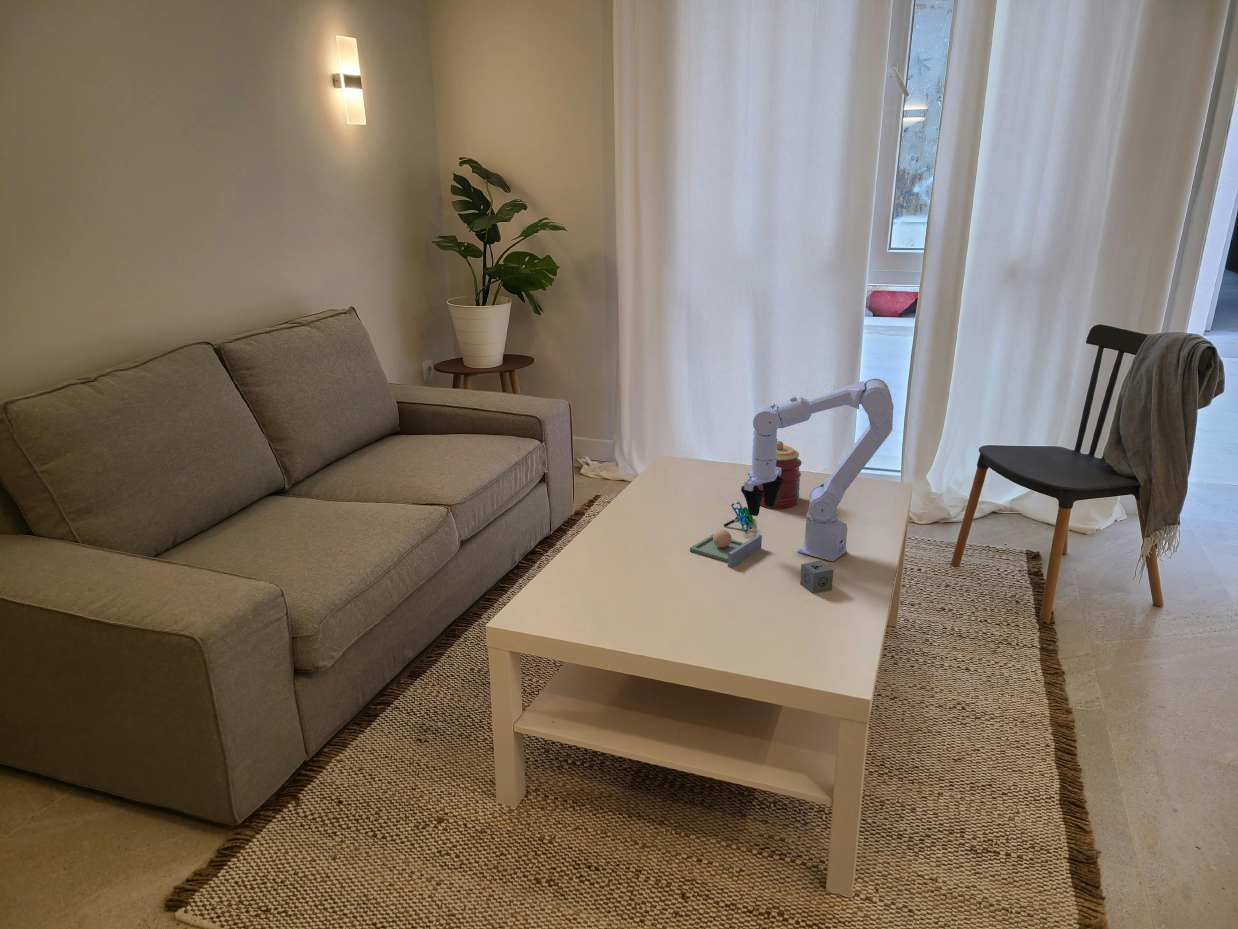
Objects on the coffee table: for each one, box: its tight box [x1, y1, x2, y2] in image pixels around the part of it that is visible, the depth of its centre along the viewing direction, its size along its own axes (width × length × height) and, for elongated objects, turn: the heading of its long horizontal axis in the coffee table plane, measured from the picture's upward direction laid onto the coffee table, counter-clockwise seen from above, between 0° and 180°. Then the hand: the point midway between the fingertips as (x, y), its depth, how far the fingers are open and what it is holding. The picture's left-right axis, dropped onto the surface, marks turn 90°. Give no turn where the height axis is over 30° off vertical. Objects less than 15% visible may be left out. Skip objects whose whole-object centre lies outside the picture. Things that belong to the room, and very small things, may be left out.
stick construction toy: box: [723, 501, 754, 533], centre depth 225 cm, size 12×7×8 cm
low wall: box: [727, 533, 763, 568], centre depth 206 cm, size 1×14×4 cm, turn 142°
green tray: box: [689, 533, 744, 564], centre depth 210 cm, size 11×11×1 cm
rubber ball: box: [713, 529, 732, 548], centre depth 210 cm, size 4×4×4 cm
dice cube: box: [799, 560, 834, 594], centre depth 190 cm, size 5×5×5 cm
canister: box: [758, 440, 803, 509], centre depth 239 cm, size 13×13×18 cm
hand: (761, 510), depth 209 cm, fingers open, 7 cm apart
